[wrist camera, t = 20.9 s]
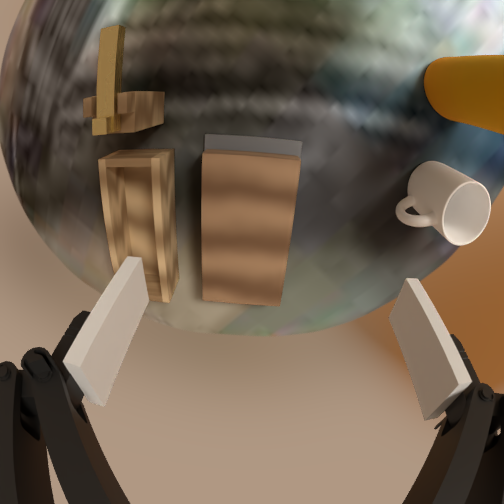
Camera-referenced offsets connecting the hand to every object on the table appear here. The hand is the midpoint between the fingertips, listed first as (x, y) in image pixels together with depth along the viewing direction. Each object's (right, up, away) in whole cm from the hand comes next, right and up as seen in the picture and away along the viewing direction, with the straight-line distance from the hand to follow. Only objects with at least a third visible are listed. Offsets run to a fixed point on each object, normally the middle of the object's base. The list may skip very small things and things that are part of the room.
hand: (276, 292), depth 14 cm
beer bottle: (+26, +25, +15) cm, 39 cm away
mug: (+23, +11, +23) cm, 34 cm away
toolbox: (-15, +10, +24) cm, 30 cm away
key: (-15, +19, +8) cm, 25 cm away
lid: (-2, +5, +25) cm, 26 cm away
